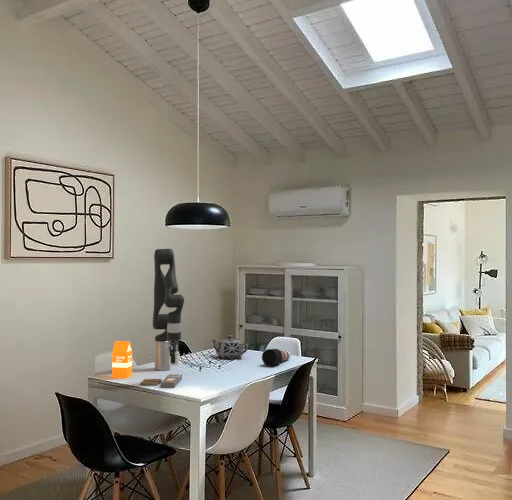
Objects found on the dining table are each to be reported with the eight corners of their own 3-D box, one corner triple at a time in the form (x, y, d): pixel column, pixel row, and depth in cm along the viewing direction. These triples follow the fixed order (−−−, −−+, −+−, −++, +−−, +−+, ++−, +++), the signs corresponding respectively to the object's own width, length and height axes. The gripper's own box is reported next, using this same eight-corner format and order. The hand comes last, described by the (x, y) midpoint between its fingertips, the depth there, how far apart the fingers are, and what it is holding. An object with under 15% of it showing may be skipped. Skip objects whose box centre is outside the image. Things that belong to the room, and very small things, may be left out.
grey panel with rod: (172, 375, 315) (172, 370, 315) (184, 375, 315) (184, 370, 315) (160, 387, 285) (160, 381, 285) (174, 387, 285) (174, 381, 285)
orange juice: (117, 375, 316) (117, 340, 316) (132, 375, 315) (132, 340, 315) (111, 378, 308) (112, 342, 309) (126, 378, 307) (127, 342, 307)
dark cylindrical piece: (292, 365, 372) (298, 352, 371) (271, 368, 342) (279, 354, 341) (280, 357, 376) (287, 344, 375) (259, 360, 346) (266, 346, 345)
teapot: (217, 353, 392) (218, 332, 392) (255, 357, 376) (255, 335, 377) (202, 357, 375) (202, 335, 376) (240, 361, 360) (240, 338, 360)
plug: (170, 363, 304) (170, 348, 304) (179, 364, 303) (179, 348, 303) (168, 365, 300) (168, 349, 300) (177, 365, 299) (177, 349, 299)
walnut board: (145, 381, 301) (145, 378, 301) (161, 381, 300) (161, 379, 300) (140, 385, 291) (140, 382, 291) (157, 385, 290) (157, 383, 290)
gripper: (169, 329, 309) (169, 360, 309) (164, 332, 295) (164, 365, 295) (183, 329, 309) (182, 360, 308) (178, 333, 294) (178, 365, 294)
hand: (173, 362), depth 301 cm, fingers closed on plug, 4 cm apart
